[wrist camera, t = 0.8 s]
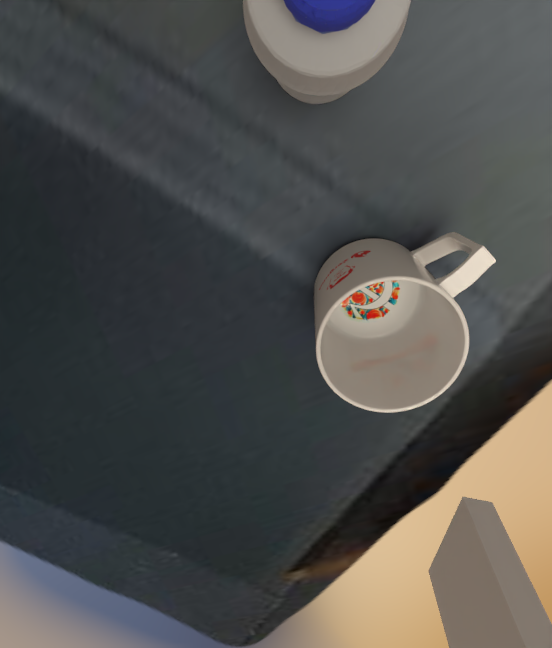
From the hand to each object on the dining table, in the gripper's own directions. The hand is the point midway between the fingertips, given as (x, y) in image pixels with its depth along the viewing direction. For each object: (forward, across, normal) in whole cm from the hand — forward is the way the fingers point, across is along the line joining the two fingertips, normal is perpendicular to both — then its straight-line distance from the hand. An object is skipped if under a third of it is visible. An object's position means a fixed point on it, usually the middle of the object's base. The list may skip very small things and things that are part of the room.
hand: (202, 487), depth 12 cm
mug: (+27, +9, -1) cm, 28 cm away
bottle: (+27, +1, +13) cm, 30 cm away
